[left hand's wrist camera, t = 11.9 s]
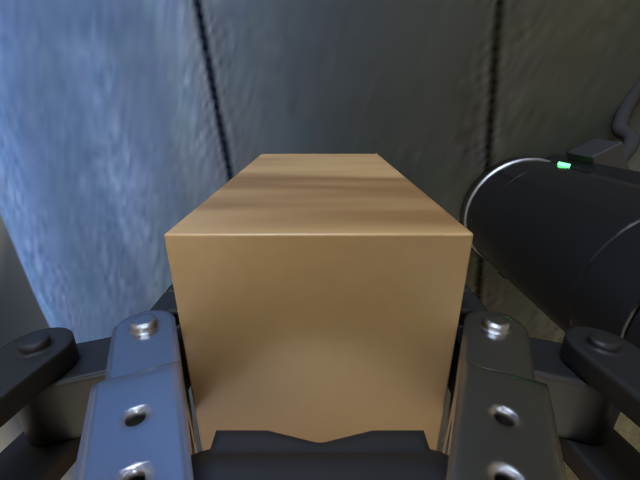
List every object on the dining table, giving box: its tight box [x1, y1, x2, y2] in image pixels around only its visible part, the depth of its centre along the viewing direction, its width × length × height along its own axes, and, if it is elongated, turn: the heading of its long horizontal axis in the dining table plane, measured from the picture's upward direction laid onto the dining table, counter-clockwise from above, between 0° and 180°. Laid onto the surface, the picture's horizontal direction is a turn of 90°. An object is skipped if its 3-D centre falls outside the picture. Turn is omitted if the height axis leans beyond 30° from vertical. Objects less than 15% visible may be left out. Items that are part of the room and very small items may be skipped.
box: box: [165, 154, 473, 451], centre depth 16 cm, size 24×6×12 cm, turn 0°
